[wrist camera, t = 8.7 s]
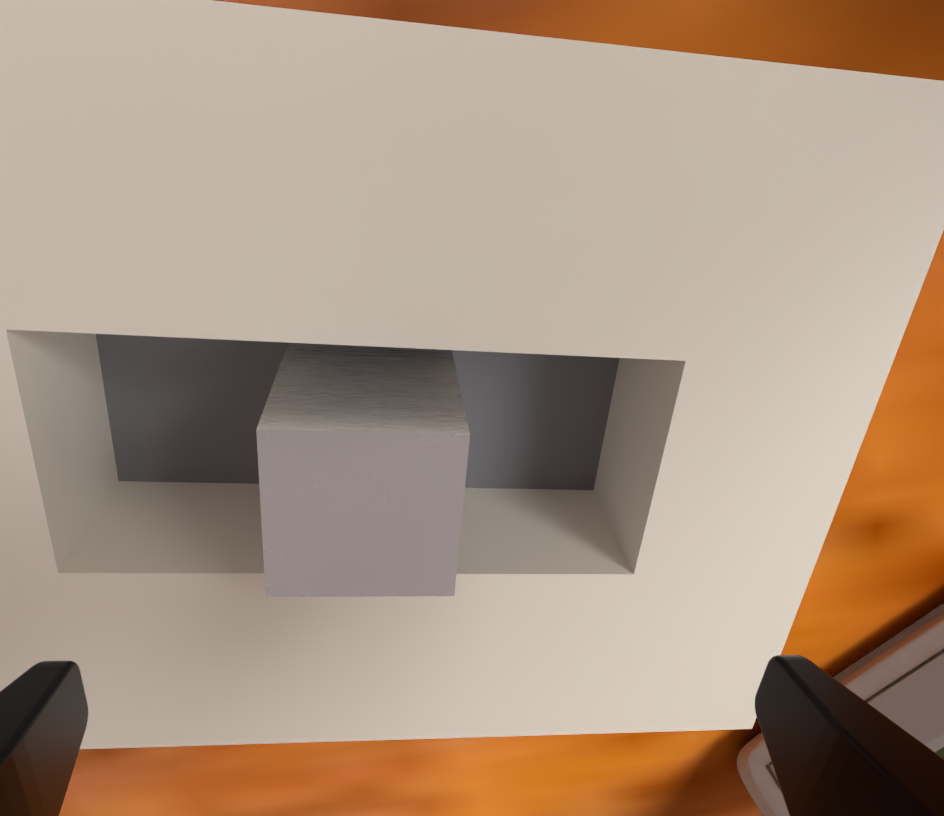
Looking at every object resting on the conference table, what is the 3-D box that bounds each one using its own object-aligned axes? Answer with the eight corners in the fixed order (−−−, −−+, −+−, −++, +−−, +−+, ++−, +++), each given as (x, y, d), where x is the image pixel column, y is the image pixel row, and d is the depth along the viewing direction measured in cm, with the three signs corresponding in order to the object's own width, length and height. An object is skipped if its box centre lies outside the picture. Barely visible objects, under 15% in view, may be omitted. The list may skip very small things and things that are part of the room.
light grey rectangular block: (447, 329, 19) (469, 434, 13) (437, 457, 20) (454, 595, 15) (295, 322, 18) (256, 429, 13) (299, 454, 20) (265, 596, 15)
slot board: (858, 81, 17) (999, 86, 13) (694, 623, 25) (752, 728, 21) (-208, -33, 14) (-443, -72, 10) (-18, 629, 22) (-109, 755, 18)
